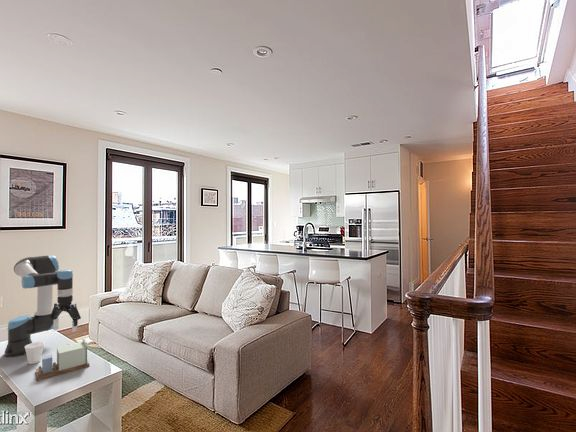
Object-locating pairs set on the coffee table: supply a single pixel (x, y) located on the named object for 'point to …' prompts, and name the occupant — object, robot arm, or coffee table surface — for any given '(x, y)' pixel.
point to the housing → (72, 355)
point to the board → (56, 371)
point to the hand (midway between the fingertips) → (65, 330)
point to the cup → (34, 352)
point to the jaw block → (47, 363)
